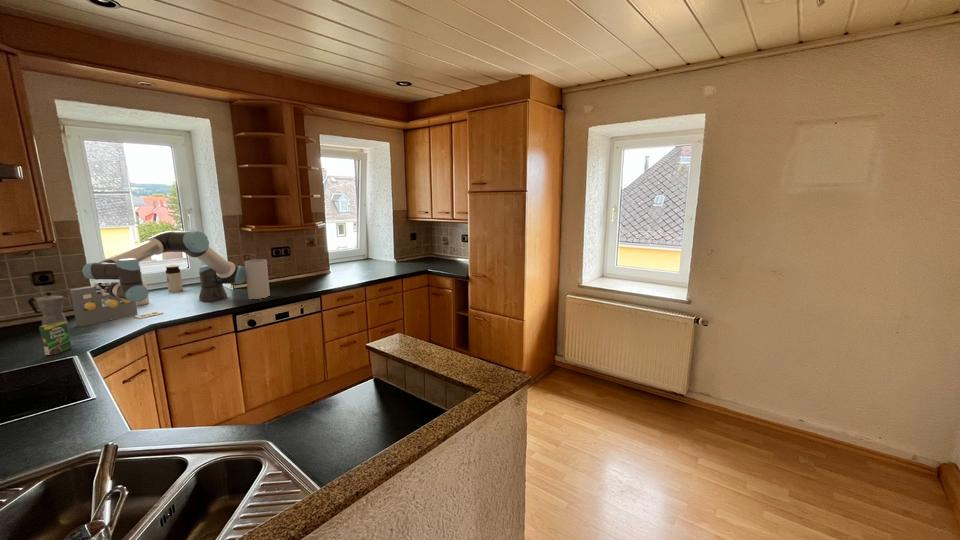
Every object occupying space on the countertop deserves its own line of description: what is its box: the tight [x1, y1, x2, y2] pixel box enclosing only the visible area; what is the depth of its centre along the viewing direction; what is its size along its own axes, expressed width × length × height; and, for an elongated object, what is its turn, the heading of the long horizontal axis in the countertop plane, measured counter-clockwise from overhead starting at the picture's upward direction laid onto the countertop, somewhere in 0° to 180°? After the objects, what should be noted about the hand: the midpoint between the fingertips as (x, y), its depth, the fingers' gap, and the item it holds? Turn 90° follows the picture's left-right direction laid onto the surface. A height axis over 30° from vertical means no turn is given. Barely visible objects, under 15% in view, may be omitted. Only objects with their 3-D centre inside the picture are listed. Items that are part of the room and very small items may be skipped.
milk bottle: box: [136, 272, 150, 306], centre depth 236 cm, size 8×8×20 cm
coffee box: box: [38, 321, 73, 356], centre depth 163 cm, size 8×3×13 cm, turn 171°
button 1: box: [82, 301, 96, 310], centre depth 198 cm, size 7×4×4 cm, turn 65°
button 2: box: [120, 298, 131, 303], centre depth 212 cm, size 7×4×4 cm, turn 65°
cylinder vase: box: [244, 258, 271, 300], centre depth 254 cm, size 12×12×25 cm
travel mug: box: [165, 264, 184, 293], centre depth 268 cm, size 8×8×18 cm
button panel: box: [69, 285, 138, 328], centre depth 205 cm, size 4×24×19 cm, turn 155°
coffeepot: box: [27, 291, 69, 326], centre depth 194 cm, size 15×9×18 cm, turn 104°
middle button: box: [102, 298, 118, 308], centre depth 203 cm, size 7×4×4 cm, turn 65°
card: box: [133, 311, 164, 320], centre depth 215 cm, size 6×11×1 cm, turn 155°
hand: (96, 284), depth 190 cm, fingers closed
